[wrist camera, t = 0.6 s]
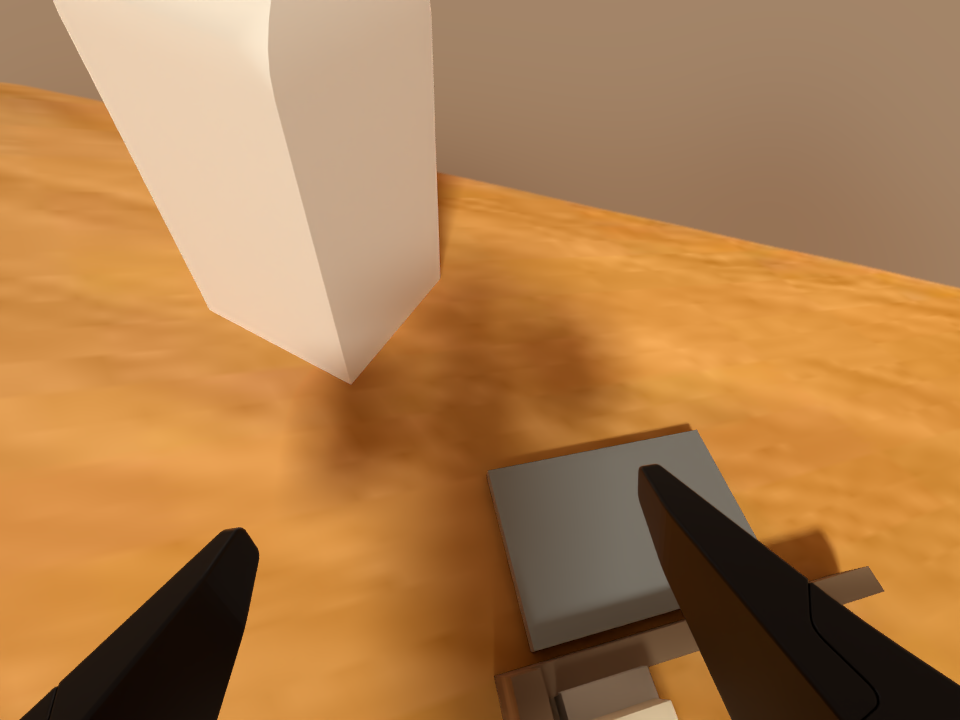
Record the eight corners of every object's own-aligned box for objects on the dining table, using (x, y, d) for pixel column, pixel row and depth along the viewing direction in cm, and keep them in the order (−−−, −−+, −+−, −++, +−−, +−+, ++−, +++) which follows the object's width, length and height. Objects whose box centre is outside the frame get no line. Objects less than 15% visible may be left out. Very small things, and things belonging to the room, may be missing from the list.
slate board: (770, 581, 25) (779, 579, 24) (531, 651, 22) (534, 651, 21) (690, 435, 29) (696, 429, 29) (486, 475, 26) (488, 470, 26)
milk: (440, 278, 35) (463, -310, 14) (351, 384, 29) (152, -386, 8) (317, 222, 38) (178, -356, 16) (209, 309, 31) (-241, -445, 10)
